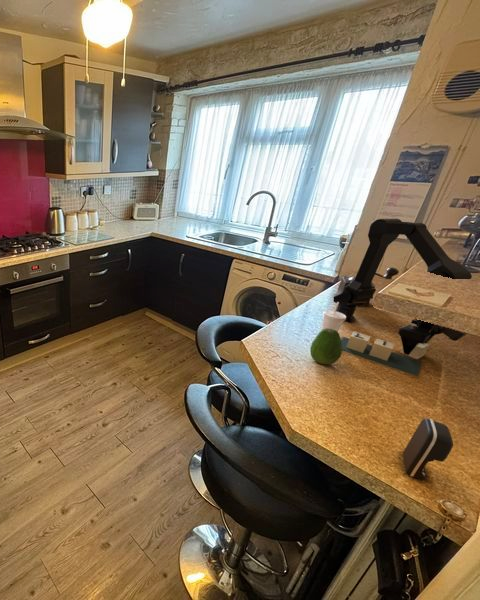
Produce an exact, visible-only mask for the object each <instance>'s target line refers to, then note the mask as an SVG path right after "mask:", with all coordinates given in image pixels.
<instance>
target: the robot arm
mask: <svg viewBox="0 0 480 600" xmlns="http://www.w3.org/2000/svg"><path fill="white" fill-rule="evenodd" d="M369 225H370V226H369V229H368V233H367V238H368V241H369V244H368V246H367V249H366V251H365V254H364V256H363V259H362V260H361V263H360V265H359V268H358V270H357V272H356V275H355V276H356V277H355V276H354V277H355V279H354V280H353V281H352V282H351V283H350V284H348V285H347V286H346V288H345V289H344V291H343V293H341V294H339V295H337V296H336V295H335V296H333V303H335V304H337V302H339V305H338V307H337V310H336V311H337V312H340V313H342V314H344V315H345V316H346V320H345V321H344V322H347V323H352V322H353V320H354V319H355V316H354V315H355V312H356V309H357V307H358V306H359V305H363V304H364V303H365V302H368V301H369V300H370V301H371V300H372V299H374V294H375V293H376V291H377V288H376V287H375V288H372V284H371V282H373V280H374V277H375V276H376V275H375V273H377V271H378V270H379V267H380V265H381V263H382V260H383V258H384V256H385V254H386V251H387V248H388V247H389V245H391V244H392V243H394V241H395V240H397V239H398V238H399V236H400V235H402V236H405V237H406V239H407V240H408V241H409V242H410V244H411V245H412V246H413V248H414V249H415V251H416V252H417V254H418V255H419V256H420V258H421V259H422V260H423V262H424V263H425V265H426V268H427V269H426V270H427V271H426V273H427V272H430V273H434V274H436V275H441V276H443V277H448V278H449V277H450V278H452V279H471V280H472V278H473V276H472V273H471V272H470V271H469V270H468V269H467V268H466V267H465V266H464V265H462V264H461V263H459V262H458V261H456V260H454V259H452V258H451V257H450V256H449V255H448V254H447V253H446V251H445V250H444V249H443V248H442V247H441V244H439V242H438V241H437V240H436V239H435V237H434V236H433V235H432V233H431V232H430V231H429V230H428V227H427V224H425V223H423V222H410V221H402V220H401V219H400V218H378V219H375V220H373V221H372V222H371V223H370V224H369ZM370 301H369V302H370ZM440 334H443V335H444V336H446V337H447V338H448V339H450V340H451V341H454V342H457V341H459V340H460V339H462V338H463V337H465V336H466V335H467V334H466V333H462V332H459V331H455V330H452V329H449V328H445V327H441V326H438V325H434V324H431V323H428V322H424V321H421V320H417V319H416V318H414V319H412V320H411V322H410V323H409V324H405V325H403V326H401V327H399V329H398V331H397V335H398V336H399V337H400V340H401V344H402V347H403V350H404V354H403V355H405V354H407V355H406V356H408V355H409V354H410V353H411V352H412V351H413V349H414V348H415V347H416V346H417V345H418V344H419V343H426V344H428V343H429V342H430V341H431V340H432V338H434V337H435V336H436V335H440Z"/></svg>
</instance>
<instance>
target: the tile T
mask: <svg viewBox="0 0 480 600" xmlns="http://www.w3.org/2000/svg"><path fill="white" fill-rule="evenodd" d="M429 347H430V344H428V343H419V344H418V345H417V346H416V347H415V348H414V349H413V351H412V352H411V353H410V354H409V355H407V354H404V350H403V346H402V347H401V349H400V351H399V354H400V353H401V354H403V355H404V356H407V357H409V358H412V359H415V360H419V359H421V358H422V357H424V356H425V354H426V352H427V351H428V348H429Z"/></svg>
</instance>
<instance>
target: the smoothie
mask: <svg viewBox="0 0 480 600" xmlns="http://www.w3.org/2000/svg"><path fill="white" fill-rule="evenodd" d="M338 305H339V302H337V303H335V307H334V310H330V309H329V310H328V309H327V310H325V311H323V313H322V315H323V318H322V324H321V329H320V331H322V330H323V329H326V328H331V329H333V330H335V331H337V332H338V333H339V330H340V328H341V326H342V325H343V323H344V322H346V321H345V320H346V316H345V315H344V314H342V313H340V312H337V311H336V310H337V307H338Z"/></svg>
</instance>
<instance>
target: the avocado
mask: <svg viewBox="0 0 480 600" xmlns="http://www.w3.org/2000/svg"><path fill="white" fill-rule="evenodd" d="M340 335H341V334H340V333H339V331H338V332H337V331H335V330H333V329H331V328H326V329H323V330H322V331H321V330H320V331H319V332H318V334H317V335H316V336H315V338H313V340H312V342H311V345H310V356H311V359H312V360H314V361H315V362H316V363H318V364H320V365H333V364H335V363H336V362H338V360H340V358H341V357H342V353H343V351H342V344H341V340H342V338H341V336H340Z"/></svg>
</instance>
